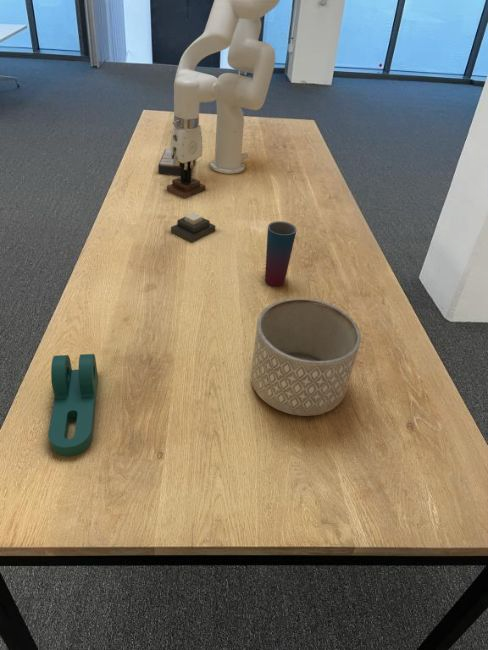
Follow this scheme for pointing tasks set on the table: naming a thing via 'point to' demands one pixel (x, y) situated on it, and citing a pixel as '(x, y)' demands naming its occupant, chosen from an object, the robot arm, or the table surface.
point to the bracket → (73, 403)
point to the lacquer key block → (192, 229)
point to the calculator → (168, 164)
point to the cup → (278, 251)
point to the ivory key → (193, 218)
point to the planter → (303, 355)
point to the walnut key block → (185, 187)
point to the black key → (185, 181)
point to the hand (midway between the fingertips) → (185, 179)
